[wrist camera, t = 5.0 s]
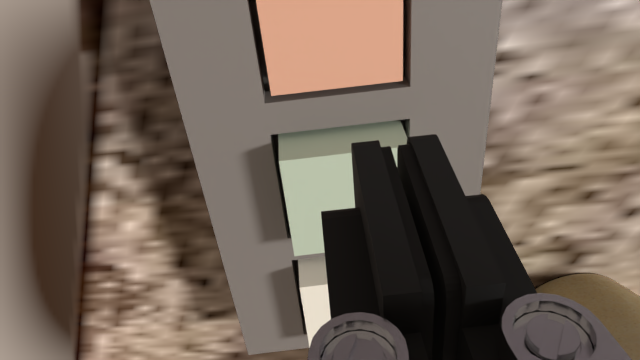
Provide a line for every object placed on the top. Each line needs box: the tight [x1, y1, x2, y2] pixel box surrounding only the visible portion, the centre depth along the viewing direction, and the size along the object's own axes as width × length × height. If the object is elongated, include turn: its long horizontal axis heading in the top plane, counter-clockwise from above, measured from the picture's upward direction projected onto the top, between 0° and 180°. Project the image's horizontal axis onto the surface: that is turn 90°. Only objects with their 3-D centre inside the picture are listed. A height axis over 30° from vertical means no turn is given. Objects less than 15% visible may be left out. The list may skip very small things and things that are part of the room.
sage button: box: [278, 120, 407, 256], centre depth 22 cm, size 5×5×2 cm
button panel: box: [150, 0, 502, 355], centre depth 24 cm, size 22×12×4 cm, turn 5°
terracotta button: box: [256, 0, 403, 96], centre depth 19 cm, size 5×5×2 cm
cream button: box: [298, 256, 331, 348], centre depth 27 cm, size 5×5×2 cm
